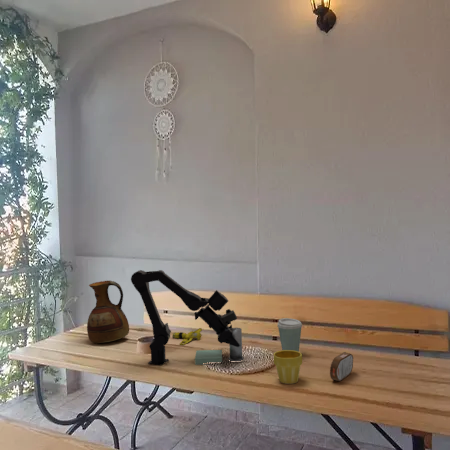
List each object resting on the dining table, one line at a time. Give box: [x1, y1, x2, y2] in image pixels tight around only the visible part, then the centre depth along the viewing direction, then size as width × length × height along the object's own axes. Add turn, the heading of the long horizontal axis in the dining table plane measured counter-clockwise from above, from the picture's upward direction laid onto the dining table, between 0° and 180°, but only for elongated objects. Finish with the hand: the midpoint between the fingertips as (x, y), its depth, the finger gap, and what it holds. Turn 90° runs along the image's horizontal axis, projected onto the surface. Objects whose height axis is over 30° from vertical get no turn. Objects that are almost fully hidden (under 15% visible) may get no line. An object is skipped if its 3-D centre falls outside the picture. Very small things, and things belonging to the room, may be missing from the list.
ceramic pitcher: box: [86, 280, 130, 344], centre depth 220 cm, size 20×20×30 cm
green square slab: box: [194, 349, 223, 366], centre depth 186 cm, size 11×11×2 cm
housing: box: [227, 327, 245, 361], centre depth 185 cm, size 6×6×13 cm
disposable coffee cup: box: [277, 317, 303, 352], centre depth 190 cm, size 11×11×15 cm
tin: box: [329, 351, 354, 382], centre depth 162 cm, size 15×3×8 cm, turn 141°
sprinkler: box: [171, 327, 203, 346], centre depth 219 cm, size 19×4×15 cm
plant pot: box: [272, 349, 303, 385], centre depth 161 cm, size 10×10×10 cm
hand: (239, 344), depth 185 cm, fingers closed on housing, 5 cm apart
